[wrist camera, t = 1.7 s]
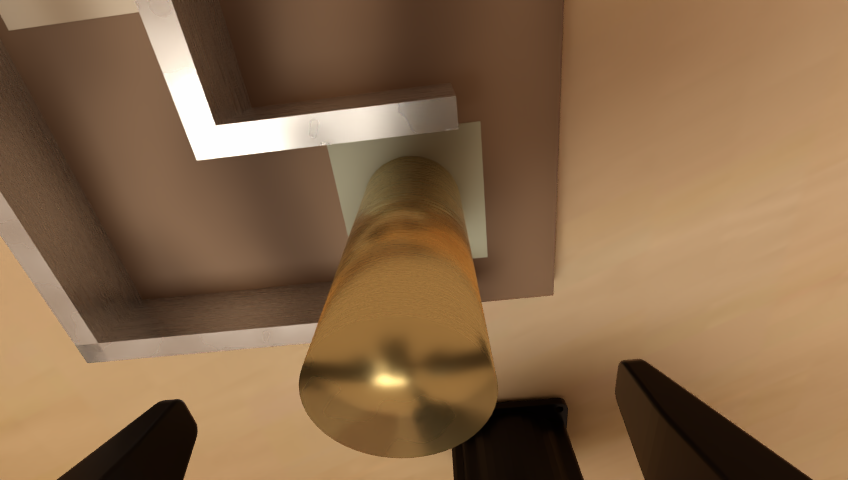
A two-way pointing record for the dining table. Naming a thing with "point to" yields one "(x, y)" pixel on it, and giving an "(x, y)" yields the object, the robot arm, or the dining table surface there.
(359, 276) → the brass peg
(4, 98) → the steel rails
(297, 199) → the pale grey flat strip
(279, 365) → the dining table surface
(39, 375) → the dining table surface
